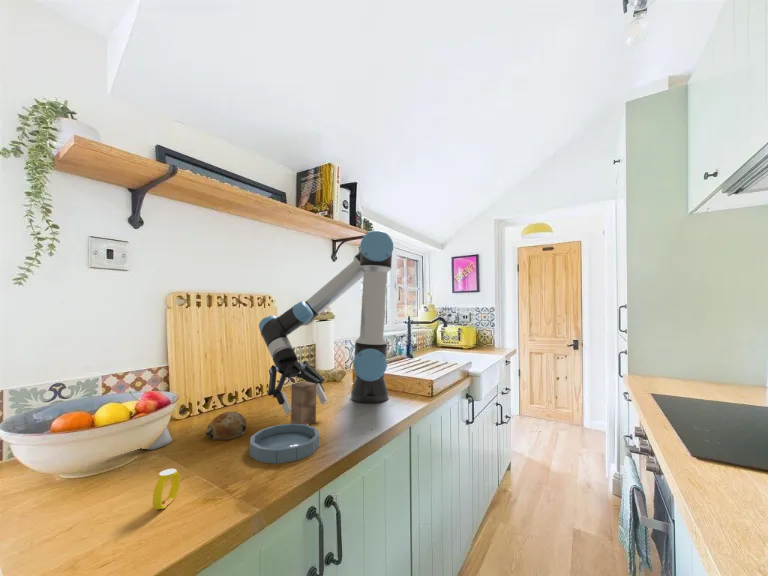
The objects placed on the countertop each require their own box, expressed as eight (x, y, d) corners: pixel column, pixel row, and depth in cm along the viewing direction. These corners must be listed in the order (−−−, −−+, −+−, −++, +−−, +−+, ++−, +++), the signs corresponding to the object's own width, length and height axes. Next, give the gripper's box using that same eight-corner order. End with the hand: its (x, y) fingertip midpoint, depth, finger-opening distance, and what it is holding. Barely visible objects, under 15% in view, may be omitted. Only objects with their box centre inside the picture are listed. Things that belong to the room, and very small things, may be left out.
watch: (167, 497, 62) (170, 464, 63) (182, 497, 62) (185, 464, 63) (146, 515, 56) (150, 478, 57) (163, 514, 56) (166, 478, 57)
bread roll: (234, 454, 88) (248, 426, 89) (197, 440, 86) (212, 412, 87) (242, 439, 97) (254, 414, 99) (209, 426, 96) (222, 401, 97)
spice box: (305, 417, 106) (306, 381, 107) (315, 421, 102) (316, 383, 103) (290, 422, 102) (291, 384, 103) (301, 426, 98) (301, 386, 99)
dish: (294, 429, 96) (294, 419, 96) (331, 446, 85) (331, 434, 85) (237, 448, 83) (238, 436, 83) (272, 470, 72) (273, 456, 72)
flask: (153, 452, 81) (156, 411, 81) (130, 449, 82) (132, 409, 83) (177, 440, 88) (179, 403, 88) (155, 438, 89) (157, 401, 90)
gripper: (307, 356, 123) (332, 404, 112) (243, 365, 104) (266, 424, 93) (316, 343, 120) (343, 392, 109) (252, 350, 101) (276, 409, 90)
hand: (307, 407), depth 101 cm, fingers open, 13 cm apart
